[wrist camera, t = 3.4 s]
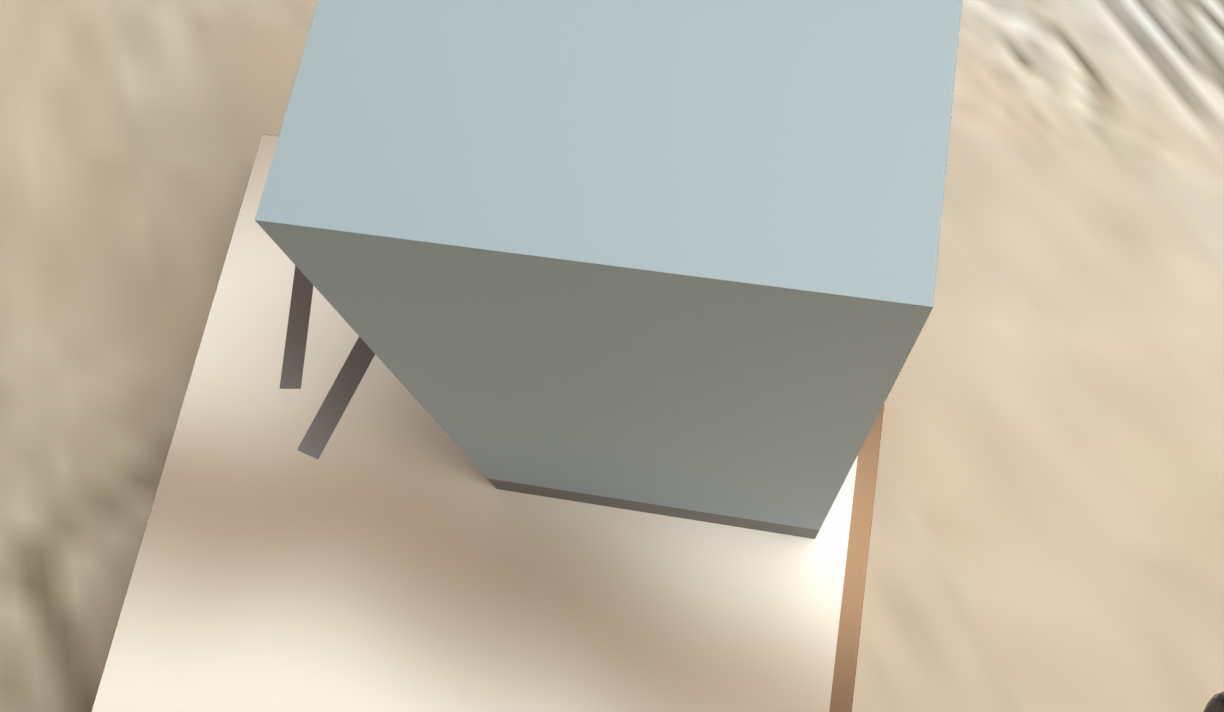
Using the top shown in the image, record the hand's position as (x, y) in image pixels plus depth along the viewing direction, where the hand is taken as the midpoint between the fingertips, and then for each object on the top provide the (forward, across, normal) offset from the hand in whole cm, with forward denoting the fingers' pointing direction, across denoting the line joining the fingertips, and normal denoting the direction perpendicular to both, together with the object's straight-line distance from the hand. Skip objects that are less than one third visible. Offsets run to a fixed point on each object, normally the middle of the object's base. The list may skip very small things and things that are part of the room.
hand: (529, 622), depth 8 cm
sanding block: (+10, 0, +3) cm, 11 cm away
